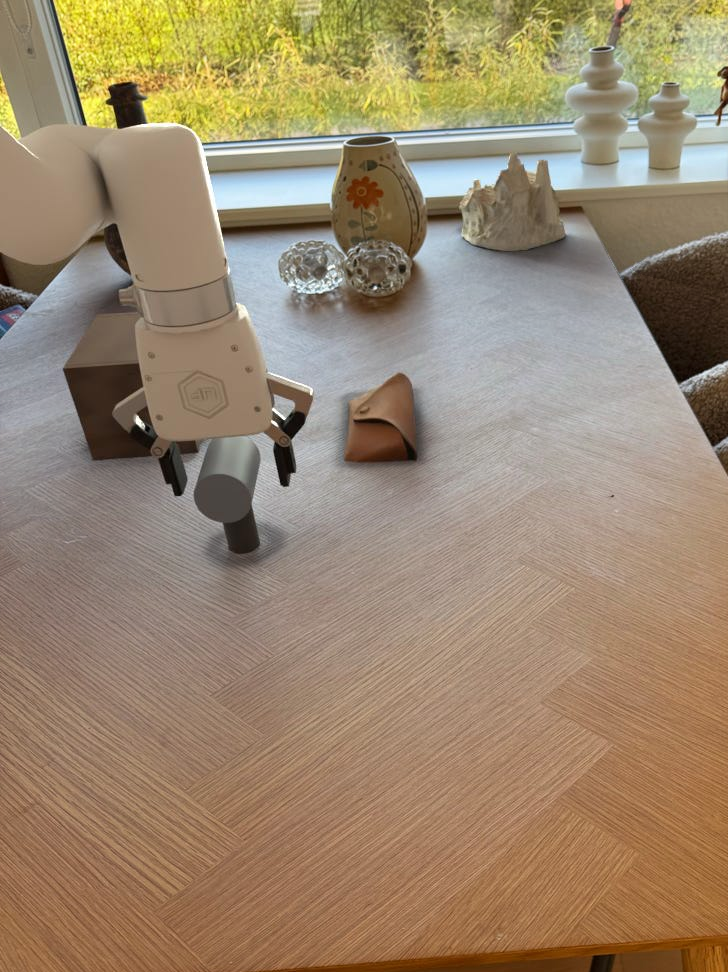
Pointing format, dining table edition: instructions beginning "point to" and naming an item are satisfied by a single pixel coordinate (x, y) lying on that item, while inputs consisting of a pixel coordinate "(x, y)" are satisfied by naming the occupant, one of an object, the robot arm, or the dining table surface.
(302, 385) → the robot arm
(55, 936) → the dining table surface
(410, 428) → the sunglasses case
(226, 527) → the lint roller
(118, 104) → the glass bottle
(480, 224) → the ceramic cottage
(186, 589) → the dining table surface
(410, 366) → the dining table surface
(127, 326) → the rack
